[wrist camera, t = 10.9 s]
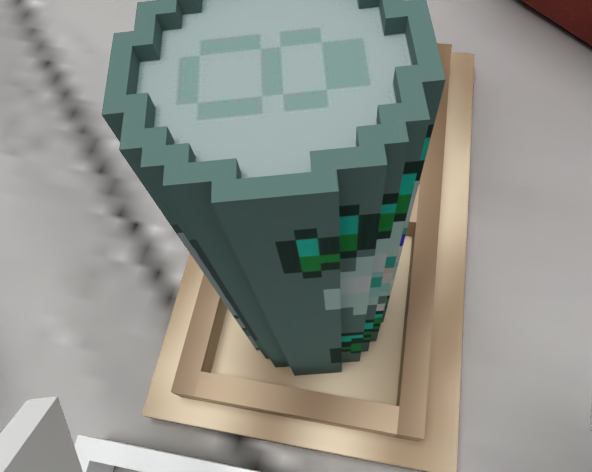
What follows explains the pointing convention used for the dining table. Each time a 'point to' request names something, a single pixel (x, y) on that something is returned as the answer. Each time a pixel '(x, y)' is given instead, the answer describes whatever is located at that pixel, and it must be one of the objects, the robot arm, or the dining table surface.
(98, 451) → the frame
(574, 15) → the plant pot
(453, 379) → the wooden tray
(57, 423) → the robot arm
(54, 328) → the dining table surface
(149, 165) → the can
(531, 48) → the dining table surface
